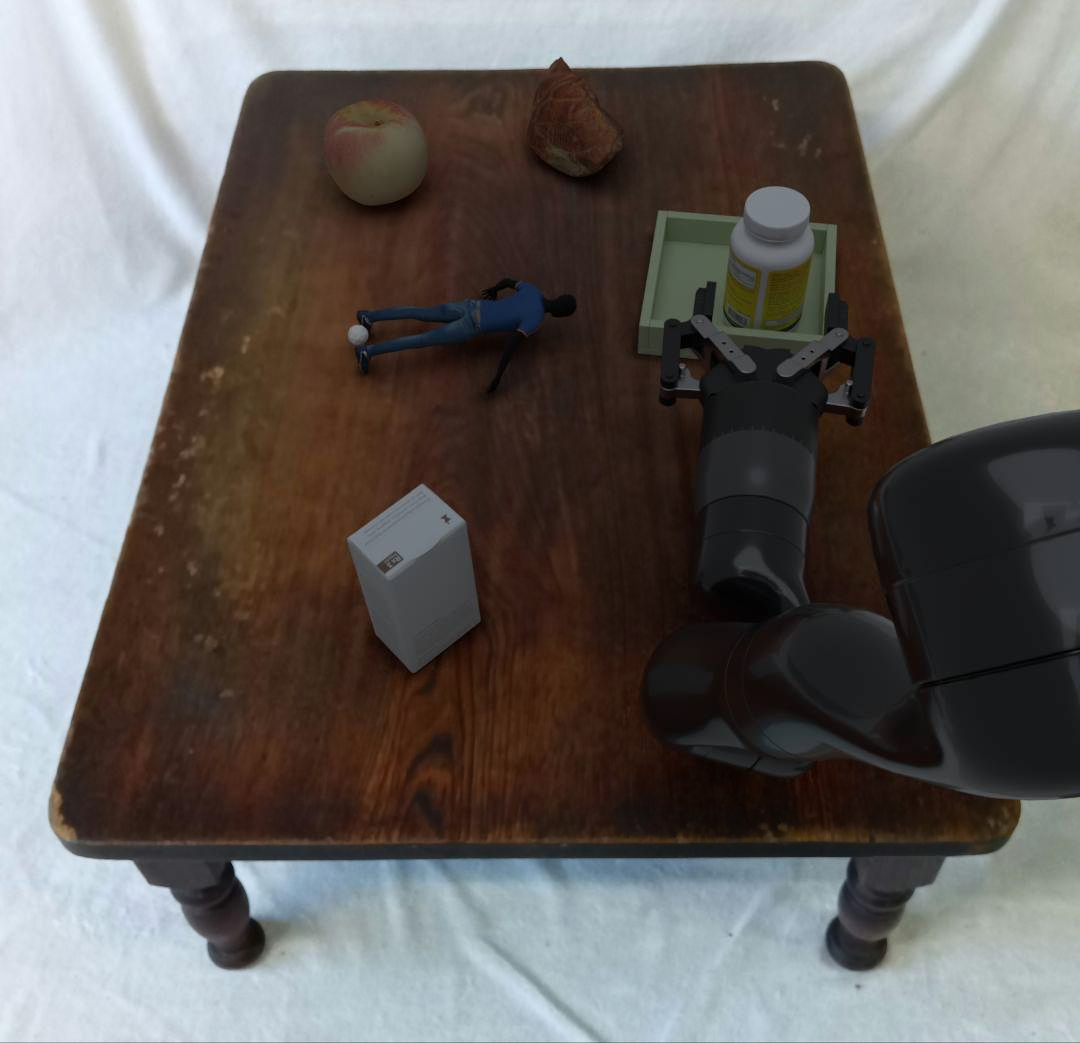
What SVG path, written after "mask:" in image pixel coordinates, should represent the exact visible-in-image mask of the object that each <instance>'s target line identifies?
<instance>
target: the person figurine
mask: <svg viewBox="0 0 1080 1043" xmlns="http://www.w3.org/2000/svg"><path fill="white" fill-rule="evenodd" d="M507 288H509V289H511V290H514V291H516V293H514V294H513V295H510V296H507V297H504V298H501V299H498V300H497V297H498V292H499V291H502V290H505V289H507ZM481 293H482V294H481V296H483V299H480V300H479V299H477V298H474V297H473V298H471V297H469V298H467V299H464V300H462V301H450V302H443V303H441V304H437V305H434V306H426V307H425V306H424V307H422V306H416V305H415V306H413V305H399V306H393V307H387V308H383V309H376V310H371V311H370V310H368V309H359V310H357V311H356V319H357V322H358V324H354V325H352V326H351V327H350V328H349V330H348V332H347V338H348V341H349V342H350V343H352V345H353V346H355V347H354V352H355V357H356V360H357V363H358V366H359V370H360V371H361V373H363V374H367V373H368V372H369V366H370V362H371V359H372V358H373V357H376V356H380V355H385V354H390V353H391V354H392V353H396V352H401V351H406V350H407V351H408V350H418V349H424V348H428V347H429V348H430V347H435V346H444V347H446V346H452V345H453V346H454V345H458V344H462V343H465V342H467V341H471V340H473V339H475V338H476V337H479V336H483V335H489V334H493V333H499V332H506V333H507V332H508V333H512V332H513V334H512V335H511V336H510V337H509V338H508V340H507V341H506V343H505V346H504V349H503V351H502V354H501V357H500V360H499V364H498V368H497V370H496V374H495V376H494V377H493V379H491V383H490V385H489V386H487V388H485V390H486V392H485V394H487V395H488V396H489V395H490V394H493V393H494V392H496V390H497V388H498V386H499V385H500V383H501V380H502V376H503V374H504V373H505V371H506V368H507V367H508V364H509V362H510V360H511V359H512V357H513V354H514V352H515V351H516V349H517V348H518V347H519V346H520V344H521V343H523V341H524V340H525V339H527V338H528V337H529V336H531V335H533V334H534V333H536V332H538V331H539V330H540V329H541V327H542V324H543V320H544V316H545V314H547V313H549V314H550V315H551V317H552V318H557V319H558V318H560V319H561V318H568V317H571V316H572V315H574V314H575V313H576V311H577V308H578V304H577V300H576V298H575V296H574V295H573V294H570V293H563V294H561V295H558V296H557V297H556V298H554V299H548V298H546V297H545V295H544V294H543V293H542V291H541V290H540V289H539V287H538V286H536V285H534V284H532V283H529V282H528V283H527V282H524V281H519V280H517V279H513V278H509V277H505V278H503V279H500V280H499V281H498V282H497V283H496V284H495V285H493V286H491V287H489V288H486V289H483V290H482V291H481ZM400 320H415V321H420V322H424V323H437V324H439V323H440V324H444V325H441V326H438V327H436V328H434V329H432V330H429V331H428V330H427V331H425V332H422V333H418V334H413V335H407V336H406V335H405V336H402V337H398V338H394V339H390V340H387V341H383V342H380V343H375V344H371V345H364V344H366V343H367V341H368V339H369V338H370V336H371V329H372V327H373V325H374V323H377V322H383V321H386V322H387V321H400Z"/></svg>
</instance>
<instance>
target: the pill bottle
mask: <svg viewBox="0 0 1080 1043" xmlns="http://www.w3.org/2000/svg"><path fill="white" fill-rule="evenodd" d="M810 215H811V205H810V203H809V201H808V199H807V198H806V196H805V195H803V194H802V193H801V192H799V191H798V190H795V189H792V188H790V187H787V186H786V187H785V186H776V185H773V186H765V187H761V188H759V189H756V190H755V191H753V192H752V193H751V194H750V195H748V197H747V198H746V199H745V203H744V208H743V214H742V217H743V218H742V219H741V220H740V221H739V222H738V223H737V224H736V226H735V227H734V229H733V231H732V234H731V239H730V249H729V258H728V266H727V276H726V285H725V293H724V302H723V317H724V321H725V323H726V325H727V326H728V327H737V328H747V329H758V330H769V331H779V332H790V333H792V332H793V331H794V330H795V329H796V328H797V326H798V324H799V322H800V319H801V315H802V310H803V305H804V300H805V294H806V289H807V283H808V277H809V272H810V266H811V261H812V255H813V250H814V235H813V232H812V230H811V228H810V226H809V225H808V223H810V217H811V216H810Z"/></svg>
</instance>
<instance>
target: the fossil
mask: <svg viewBox="0 0 1080 1043" xmlns="http://www.w3.org/2000/svg"><path fill="white" fill-rule="evenodd" d="M625 132H626V131H625V128H624V126H623V125H622V123H620V122H618V121H617V120H616V119H615V118H613V116H612V115H611V114H610V113H609V112H608V111H607V110H606V109H604V108H603V107H601V105H600V101H599V99H598V96H597V94H596V93H595V92H594V90H593V89H592V88H591V87H590V85H589V84H588V81H586V80H585V78H584V76H583V75H581V74H578V73H575V71H573V70H572V69H571V67H570V66H569V65H568V63H567V62H566V61H565V60H564V58H563V57H562V56H559V58H557V59H555V60H554V61H552V63H551V64H550V65H549V67H548V69H547V70H546V71H545V73H544V74H543V76H542V78H541V80H540V81H539V84H538V86H537V88H536V90H535V94H534V98H533V109H532V113H531V116H530V119H529V123H528V124H527V130H526V134H525V135H526V141H527V143H528V146H529V147H530V149H532V150H533V151H534V153H535V155H537V156H538V157H539V158H540V159H541V160H543V161H544V162H545V163H547V164H548V165H549V166H551V167H553V168H554V169H556V170H557V171H559V172H560V173H564V174H565V175H567V176H569V177H573V178H585V177H589V176H592V175H593V176H594V175H595V174H597V173H598V172H600V171H601V170H602V169H603V168H604V167H605V166H606V165H607V164H608V163H609V162H610V161H612V159H613V158H614V157H615V155H616V154H618V153H619V152H620V151H621V150H622V149H623V141H622V140H623V138H624V135H625Z"/></svg>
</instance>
